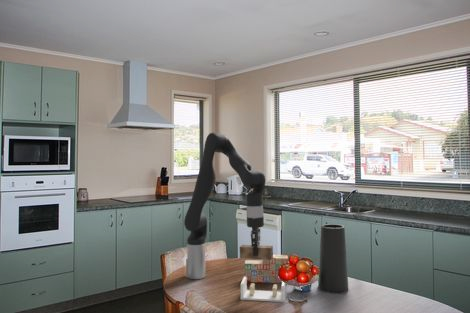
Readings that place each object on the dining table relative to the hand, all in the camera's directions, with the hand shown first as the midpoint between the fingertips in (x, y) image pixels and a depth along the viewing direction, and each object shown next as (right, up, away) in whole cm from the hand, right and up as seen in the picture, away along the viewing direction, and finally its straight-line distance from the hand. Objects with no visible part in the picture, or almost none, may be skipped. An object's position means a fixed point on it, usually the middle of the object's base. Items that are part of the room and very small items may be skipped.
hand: (256, 254), depth 168 cm
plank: (0, -2, 0) cm, 2 cm away
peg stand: (+3, -18, -1) cm, 19 cm away
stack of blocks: (+6, -19, +20) cm, 28 cm away
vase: (+36, -18, +9) cm, 42 cm away
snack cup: (+22, -19, +8) cm, 30 cm away
